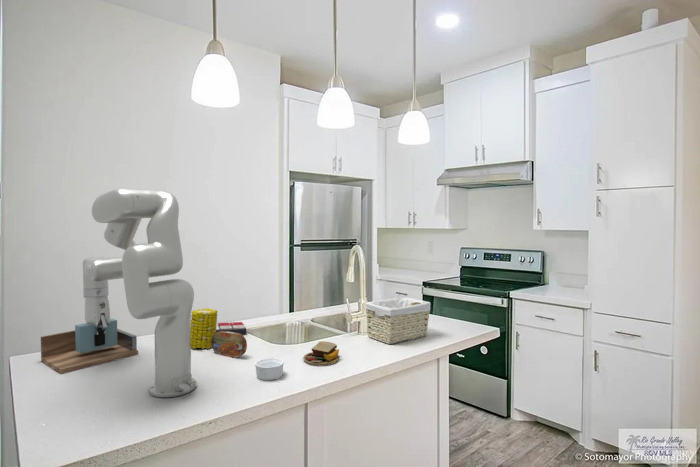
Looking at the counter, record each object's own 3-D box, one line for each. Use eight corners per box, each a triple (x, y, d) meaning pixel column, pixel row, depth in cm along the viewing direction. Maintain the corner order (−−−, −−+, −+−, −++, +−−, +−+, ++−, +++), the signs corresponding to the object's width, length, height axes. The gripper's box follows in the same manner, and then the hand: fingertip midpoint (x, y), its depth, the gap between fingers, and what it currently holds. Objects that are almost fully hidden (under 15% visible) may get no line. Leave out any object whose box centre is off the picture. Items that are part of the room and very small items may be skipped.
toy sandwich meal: (295, 362, 144) (295, 348, 144) (319, 351, 156) (319, 339, 155) (324, 369, 137) (324, 355, 137) (347, 358, 149) (347, 345, 148)
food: (184, 351, 159) (209, 346, 166) (200, 350, 151) (225, 345, 159) (181, 310, 161) (205, 308, 168) (197, 308, 153) (221, 305, 161)
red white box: (246, 327, 175) (209, 328, 170) (246, 337, 175) (208, 339, 170) (242, 321, 185) (207, 322, 180) (242, 330, 186) (206, 332, 180)
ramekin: (253, 372, 134) (253, 359, 134) (280, 369, 137) (280, 356, 137) (257, 383, 126) (257, 369, 125) (286, 379, 129) (286, 365, 129)
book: (117, 344, 151) (117, 320, 151) (80, 353, 142) (79, 327, 141) (112, 342, 154) (112, 318, 153) (75, 351, 144) (75, 325, 144)
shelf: (138, 354, 150) (137, 330, 150) (60, 374, 131) (60, 347, 131) (115, 344, 161) (115, 322, 161) (41, 361, 142) (40, 336, 142)
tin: (210, 353, 152) (210, 330, 152) (217, 350, 155) (217, 328, 155) (242, 360, 145) (242, 336, 145) (248, 357, 148) (248, 333, 148)
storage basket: (404, 328, 188) (405, 295, 187) (432, 336, 175) (432, 301, 175) (363, 337, 174) (363, 302, 173) (390, 347, 161) (390, 309, 160)
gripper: (118, 293, 145) (119, 346, 146) (97, 288, 155) (98, 337, 156) (94, 297, 139) (95, 351, 140) (74, 291, 149) (75, 342, 150)
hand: (97, 343), depth 148 cm, fingers closed on book, 3 cm apart
